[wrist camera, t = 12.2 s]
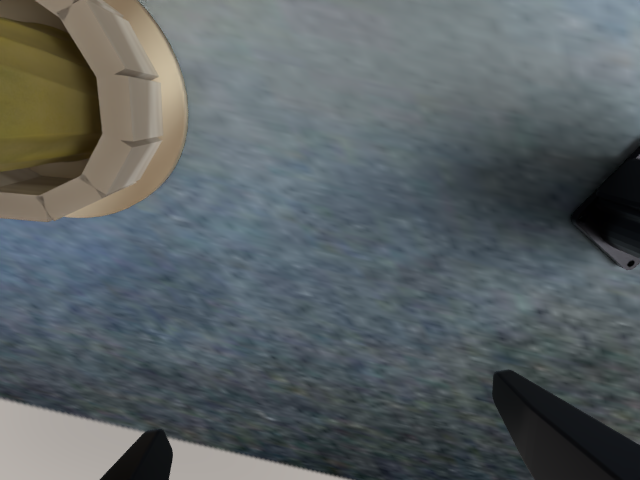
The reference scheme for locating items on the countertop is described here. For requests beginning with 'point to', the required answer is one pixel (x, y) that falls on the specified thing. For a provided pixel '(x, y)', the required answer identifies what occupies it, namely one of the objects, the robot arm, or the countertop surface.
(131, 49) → the collar stand
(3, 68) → the vase
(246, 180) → the countertop surface
